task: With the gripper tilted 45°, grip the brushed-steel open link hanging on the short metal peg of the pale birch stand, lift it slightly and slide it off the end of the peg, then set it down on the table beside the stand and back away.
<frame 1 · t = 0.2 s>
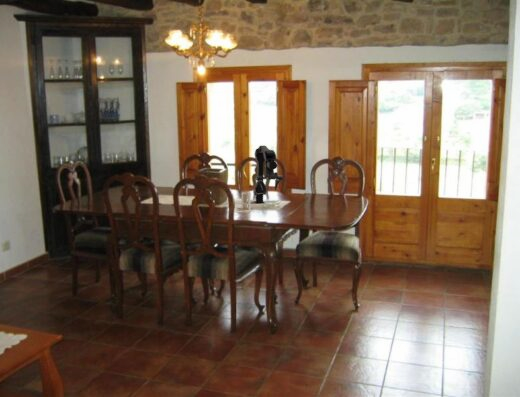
hand: (269, 190, 397), 14 cm above the table, tool pointing down, fingers open, 9 cm apart
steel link: (246, 209, 394), point 1 cm above the table, touching birch stand
birch stand: (245, 211, 392), on the table
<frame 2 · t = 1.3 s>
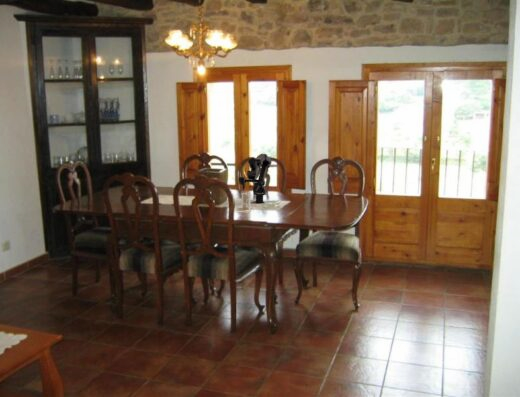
hand: (249, 190, 399), 13 cm above the table, tool tilted 45°, fingers open, 9 cm apart
nothing on the table moved.
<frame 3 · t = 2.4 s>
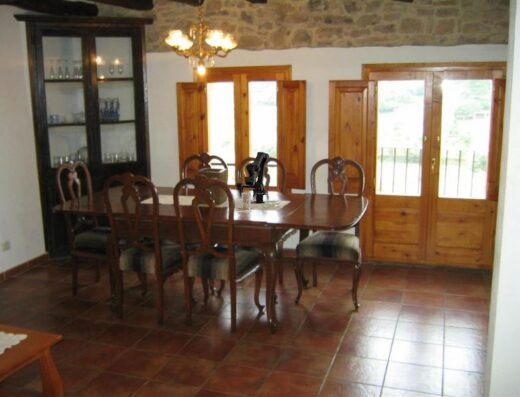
hand: (246, 196, 394), 10 cm above the table, tool tilted 45°, fingers open, 9 cm apart
nothing on the table moved.
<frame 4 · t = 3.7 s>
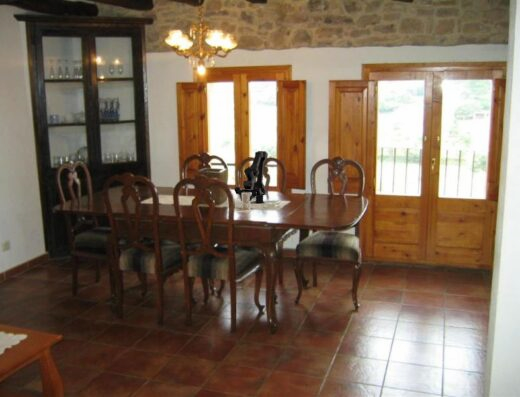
hand: (245, 200, 392), 8 cm above the table, tool tilted 45°, fingers closed on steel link, 6 cm apart
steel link: (246, 209, 394), point 1 cm above the table, touching birch stand, gripper
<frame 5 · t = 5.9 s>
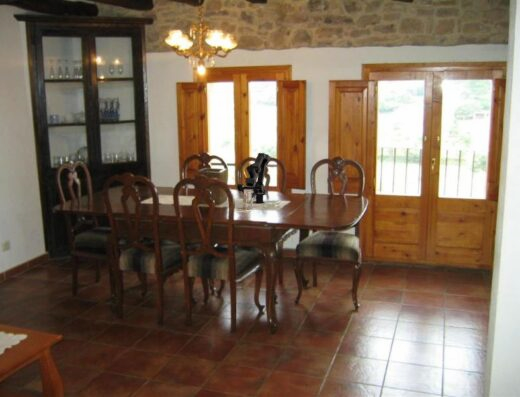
hand: (247, 197, 396), 9 cm above the table, tool tilted 45°, fingers closed on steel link, 6 cm apart
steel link: (248, 206, 399), point 2 cm above the table, touching gripper
when the fingers open (8 cm above the table, at t = 7.9 s): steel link drops 1 cm, on the table.
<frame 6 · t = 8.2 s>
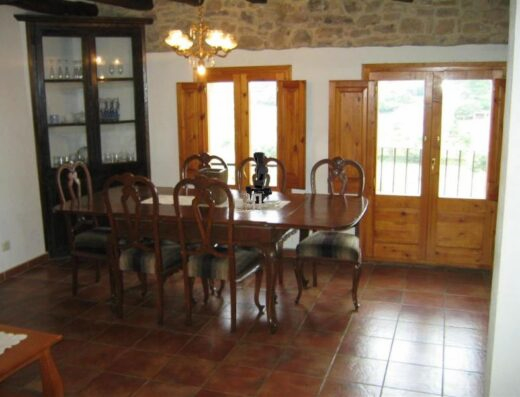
hand: (256, 200, 393), 8 cm above the table, tool tilted 45°, fingers open, 9 cm apart
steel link: (256, 210, 396), on the table
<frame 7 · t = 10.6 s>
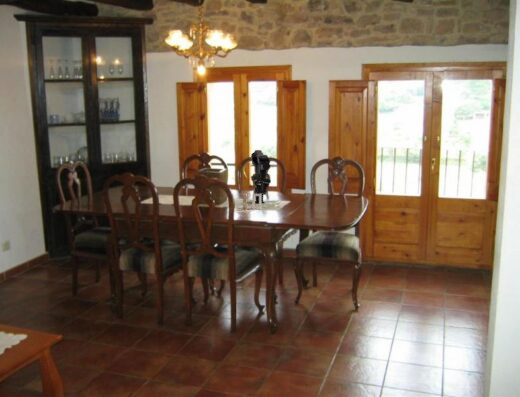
hand: (260, 193, 405), 10 cm above the table, tool tilted 20°, fingers open, 9 cm apart
nothing on the table moved.
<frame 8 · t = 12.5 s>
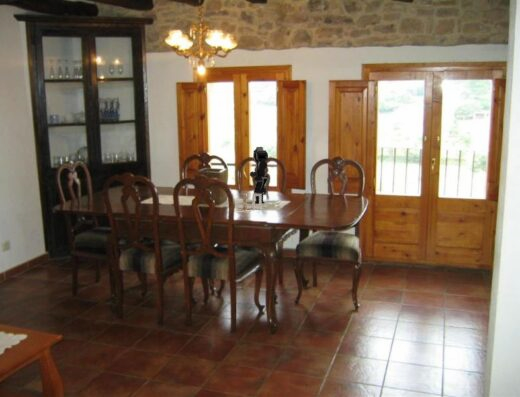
hand: (261, 189, 408), 13 cm above the table, tool pointing down, fingers open, 9 cm apart
nothing on the table moved.
at the end: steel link touching table; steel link inside the target area (1.1 cm from its centre), on the table; the gripper is holding nothing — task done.
